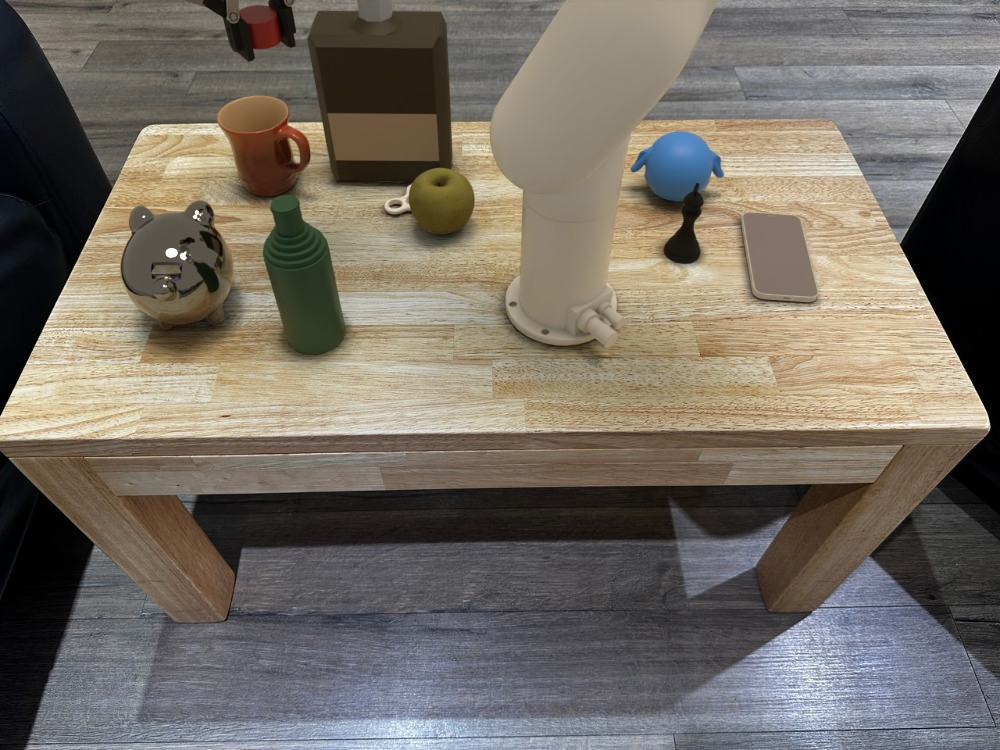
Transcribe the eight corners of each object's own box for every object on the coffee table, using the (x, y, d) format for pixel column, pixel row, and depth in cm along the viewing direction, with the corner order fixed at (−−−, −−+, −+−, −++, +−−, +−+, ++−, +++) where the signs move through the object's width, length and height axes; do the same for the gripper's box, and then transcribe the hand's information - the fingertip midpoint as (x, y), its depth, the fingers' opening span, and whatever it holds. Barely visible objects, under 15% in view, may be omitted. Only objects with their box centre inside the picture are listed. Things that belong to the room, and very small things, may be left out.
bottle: (338, 151, 109) (306, -37, 90) (453, 152, 109) (445, -36, 90) (330, 186, 104) (294, -7, 85) (450, 187, 104) (441, -6, 85)
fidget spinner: (441, 215, 100) (441, 210, 99) (393, 227, 98) (392, 222, 98) (424, 184, 104) (423, 179, 103) (377, 195, 102) (376, 190, 102)
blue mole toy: (714, 163, 108) (728, 107, 102) (721, 216, 100) (736, 159, 94) (627, 157, 109) (635, 101, 102) (626, 210, 101) (635, 153, 95)
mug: (223, 191, 103) (201, 121, 95) (265, 157, 108) (248, 88, 100) (296, 218, 100) (280, 148, 92) (337, 182, 105) (324, 112, 97)
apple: (404, 211, 100) (400, 165, 94) (464, 200, 102) (464, 154, 96) (419, 251, 95) (416, 205, 90) (481, 239, 97) (483, 193, 92)
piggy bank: (248, 258, 94) (223, 178, 86) (241, 348, 85) (213, 268, 76) (152, 267, 93) (117, 187, 85) (134, 360, 84) (92, 280, 75)
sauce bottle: (356, 336, 86) (331, 206, 73) (305, 363, 83) (270, 233, 70) (326, 304, 89) (297, 174, 76) (276, 330, 87) (237, 199, 73)
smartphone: (754, 293, 90) (740, 211, 99) (752, 299, 90) (738, 217, 100) (820, 298, 89) (800, 215, 99) (817, 303, 90) (798, 220, 100)
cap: (256, 26, 81) (251, 1, 79) (289, 34, 80) (284, 9, 78) (234, 44, 78) (228, 18, 76) (268, 52, 78) (263, 27, 76)
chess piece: (658, 257, 95) (673, 188, 87) (669, 236, 98) (684, 167, 90) (694, 267, 94) (712, 198, 86) (704, 246, 96) (722, 177, 89)
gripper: (286, -190, 71) (319, 13, 85) (103, -156, 64) (172, 59, 78) (328, -170, 67) (356, 39, 81) (139, -131, 60) (205, 90, 74)
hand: (265, 47), depth 79 cm, fingers closed on cap, 3 cm apart
